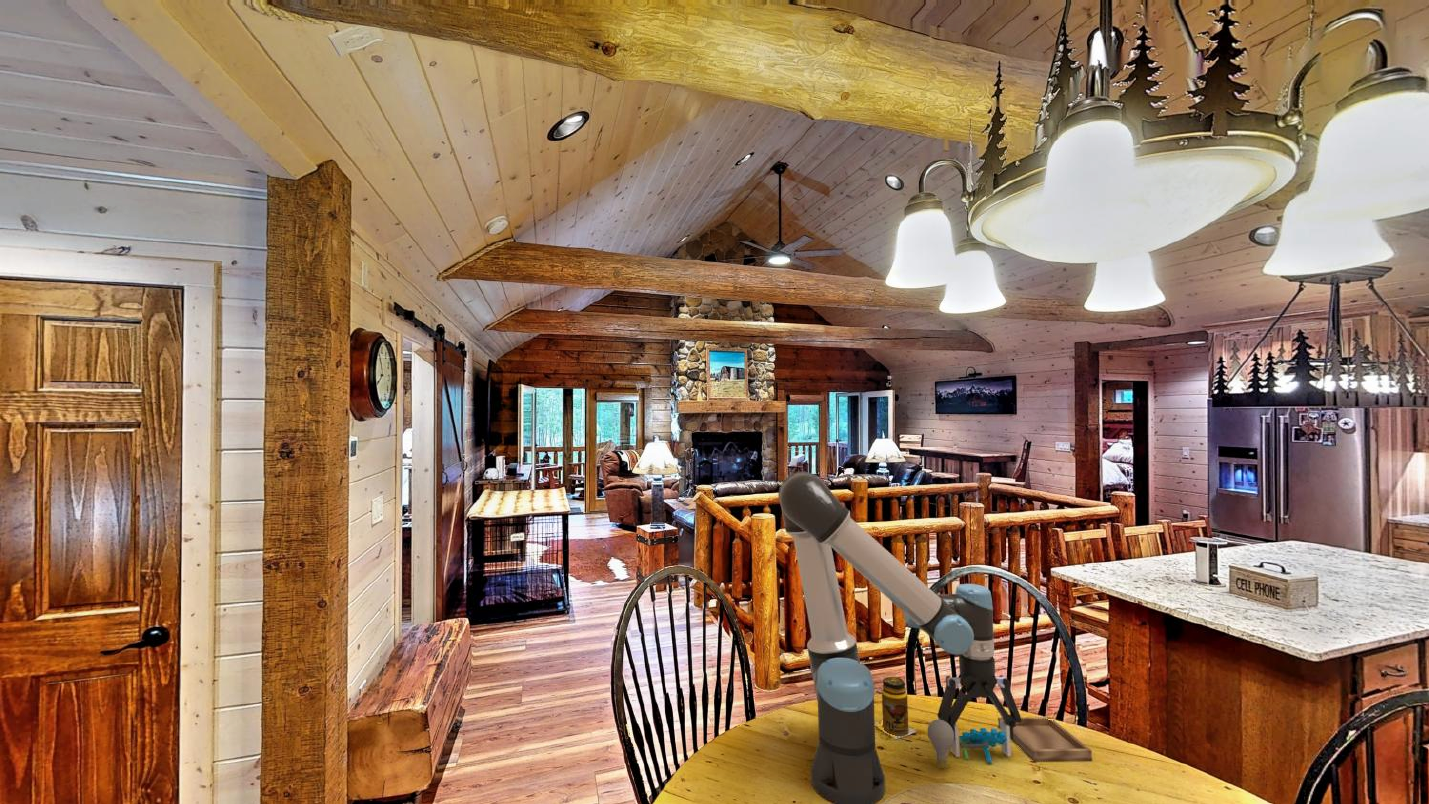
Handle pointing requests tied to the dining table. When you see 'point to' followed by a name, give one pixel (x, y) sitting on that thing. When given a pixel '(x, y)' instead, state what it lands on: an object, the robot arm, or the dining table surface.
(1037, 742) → the tray
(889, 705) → the condiment
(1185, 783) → the dining table surface
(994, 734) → the blue and green toy
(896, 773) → the dining table surface
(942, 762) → the light bulb
